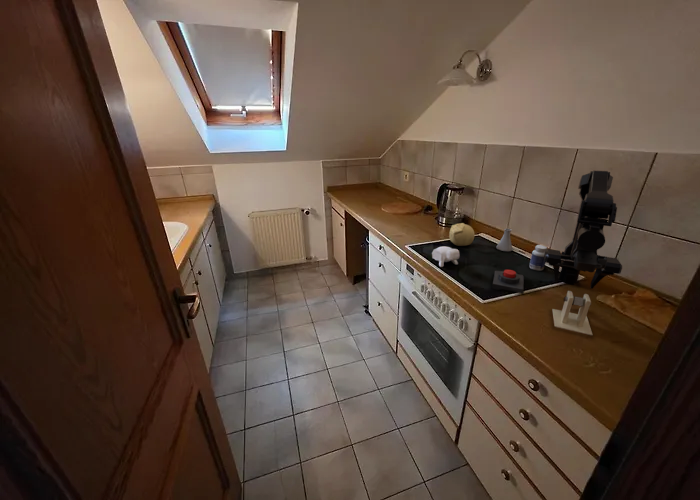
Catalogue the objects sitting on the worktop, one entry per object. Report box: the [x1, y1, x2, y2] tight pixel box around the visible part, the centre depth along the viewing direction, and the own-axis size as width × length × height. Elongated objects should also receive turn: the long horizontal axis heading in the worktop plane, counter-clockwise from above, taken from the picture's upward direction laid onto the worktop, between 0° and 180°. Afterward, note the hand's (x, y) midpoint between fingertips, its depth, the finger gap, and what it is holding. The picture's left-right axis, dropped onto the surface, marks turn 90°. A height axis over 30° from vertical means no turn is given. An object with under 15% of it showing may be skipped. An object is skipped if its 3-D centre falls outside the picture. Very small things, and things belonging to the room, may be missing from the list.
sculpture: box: [448, 222, 475, 247], centre depth 150 cm, size 11×12×11 cm
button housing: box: [491, 270, 525, 294], centre depth 112 cm, size 12×10×4 cm
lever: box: [563, 295, 584, 307], centre depth 92 cm, size 13×3×3 cm, turn 152°
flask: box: [496, 227, 513, 252], centre depth 142 cm, size 7×7×10 cm
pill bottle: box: [529, 244, 548, 271], centre depth 123 cm, size 5×5×10 cm
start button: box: [503, 269, 517, 278], centre depth 111 cm, size 4×4×2 cm
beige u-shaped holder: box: [552, 290, 593, 336], centre depth 89 cm, size 10×9×10 cm
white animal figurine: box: [431, 245, 461, 268], centre depth 130 cm, size 9×8×15 cm
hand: (573, 284), depth 95 cm, fingers open, 9 cm apart
